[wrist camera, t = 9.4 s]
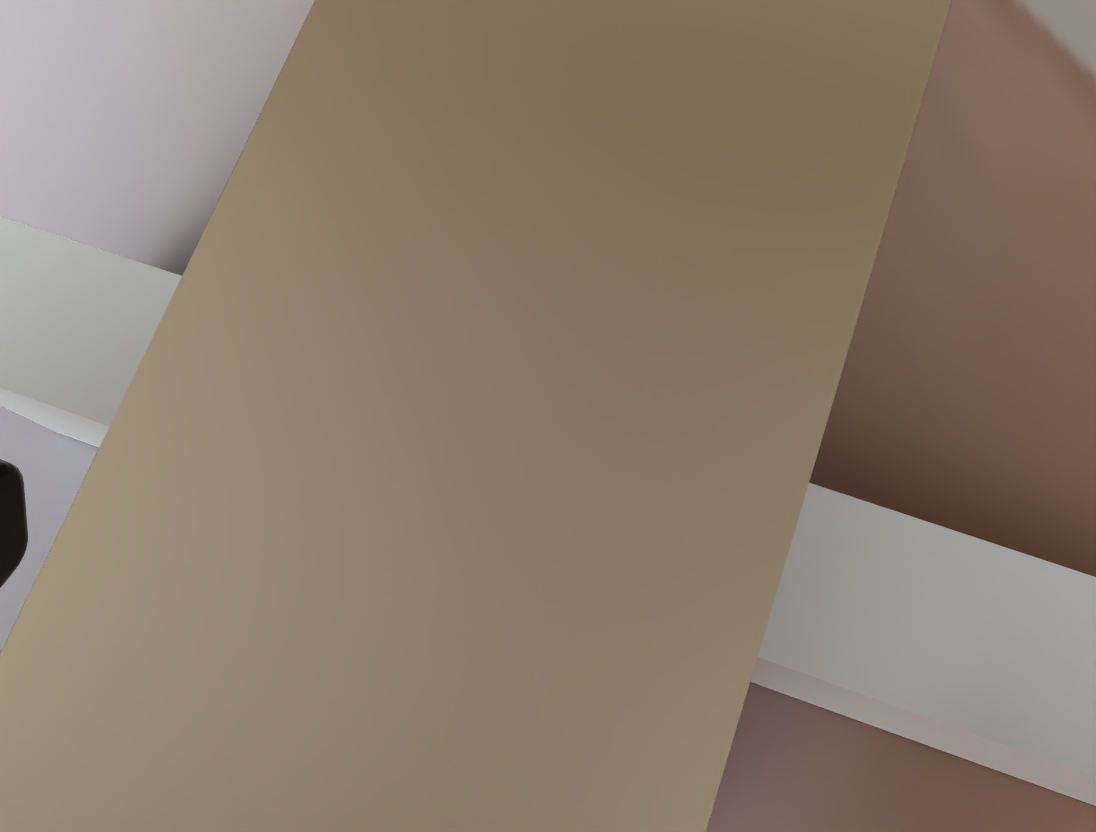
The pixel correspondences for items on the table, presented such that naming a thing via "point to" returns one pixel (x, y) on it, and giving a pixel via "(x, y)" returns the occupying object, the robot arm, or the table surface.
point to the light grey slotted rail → (805, 586)
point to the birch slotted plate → (472, 426)
